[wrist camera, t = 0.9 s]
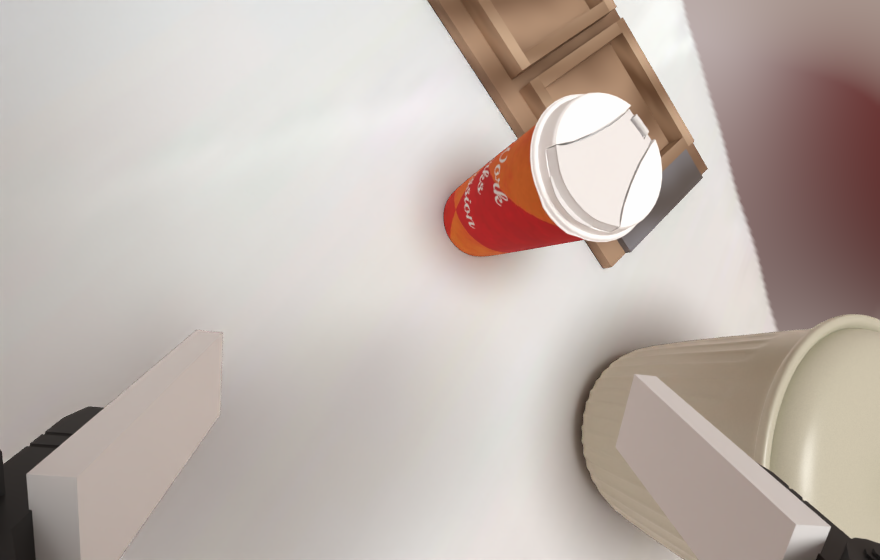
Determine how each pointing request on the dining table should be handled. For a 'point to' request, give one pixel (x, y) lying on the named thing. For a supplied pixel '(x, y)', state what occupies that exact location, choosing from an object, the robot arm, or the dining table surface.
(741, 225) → the dining table surface
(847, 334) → the canister
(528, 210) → the paper cup
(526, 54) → the wooden compartment tray
